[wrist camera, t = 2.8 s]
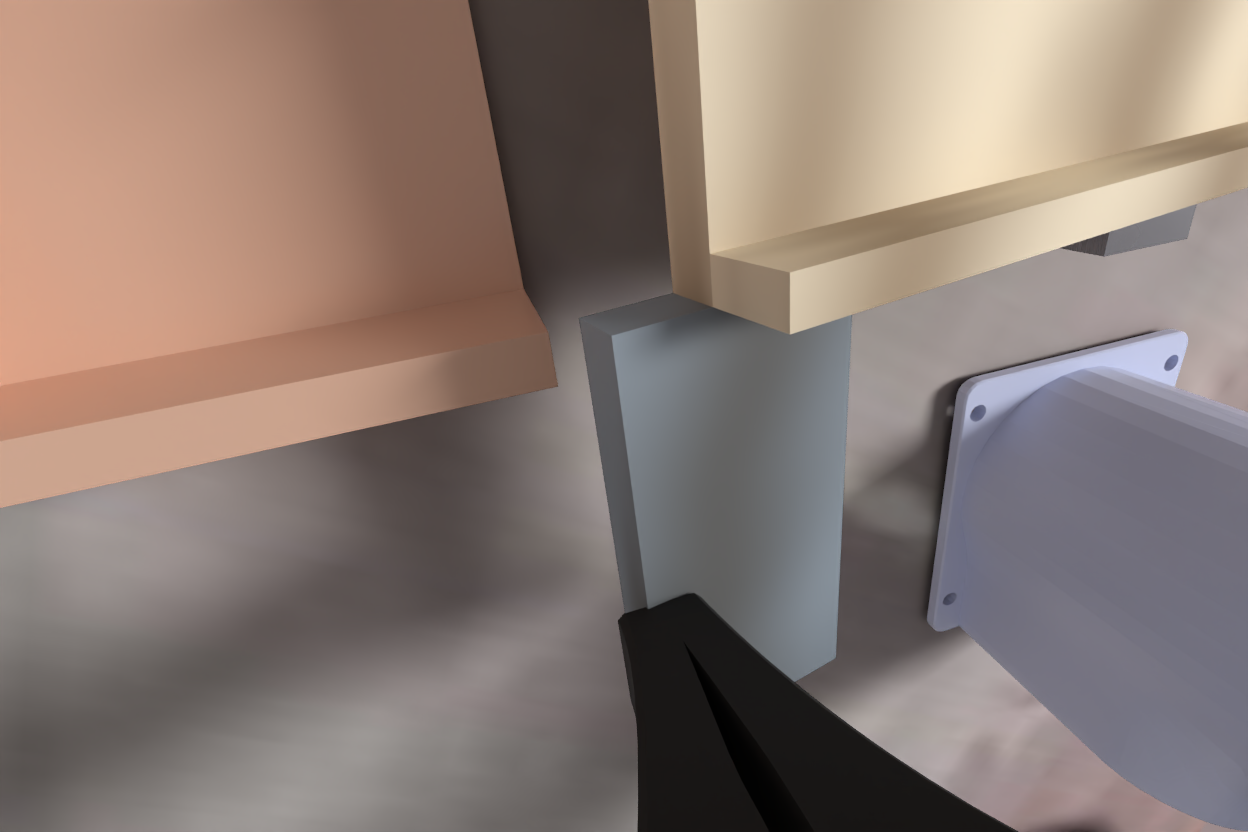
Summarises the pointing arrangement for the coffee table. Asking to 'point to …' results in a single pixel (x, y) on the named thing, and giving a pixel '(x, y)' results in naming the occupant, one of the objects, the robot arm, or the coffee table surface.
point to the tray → (244, 232)
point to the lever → (862, 245)
